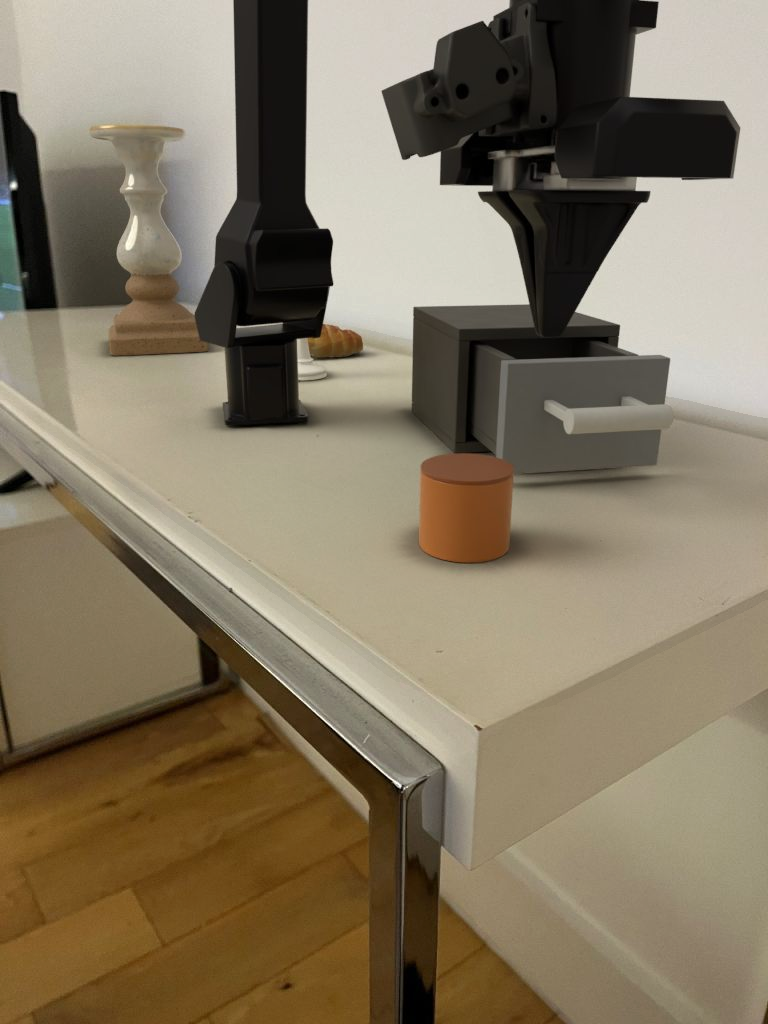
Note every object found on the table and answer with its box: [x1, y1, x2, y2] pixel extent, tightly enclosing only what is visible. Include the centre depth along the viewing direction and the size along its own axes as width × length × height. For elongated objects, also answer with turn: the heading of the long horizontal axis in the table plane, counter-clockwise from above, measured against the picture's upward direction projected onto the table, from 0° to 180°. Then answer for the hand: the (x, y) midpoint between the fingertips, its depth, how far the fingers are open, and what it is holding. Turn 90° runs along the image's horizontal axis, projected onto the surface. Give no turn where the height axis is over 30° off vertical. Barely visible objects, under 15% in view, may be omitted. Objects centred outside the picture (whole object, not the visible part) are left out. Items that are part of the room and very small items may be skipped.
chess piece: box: [297, 338, 328, 382], centre depth 81 cm, size 5×5×10 cm
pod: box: [418, 453, 515, 564], centre depth 41 cm, size 5×5×4 cm
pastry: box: [307, 323, 364, 359], centre depth 93 cm, size 9×7×4 cm
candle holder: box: [89, 124, 209, 356], centre depth 95 cm, size 11×11×24 cm
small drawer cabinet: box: [411, 303, 621, 454], centre depth 63 cm, size 13×12×9 cm
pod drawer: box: [466, 337, 675, 475], centre depth 53 cm, size 16×10×7 cm, turn 12°
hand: (548, 336), depth 42 cm, fingers closed
